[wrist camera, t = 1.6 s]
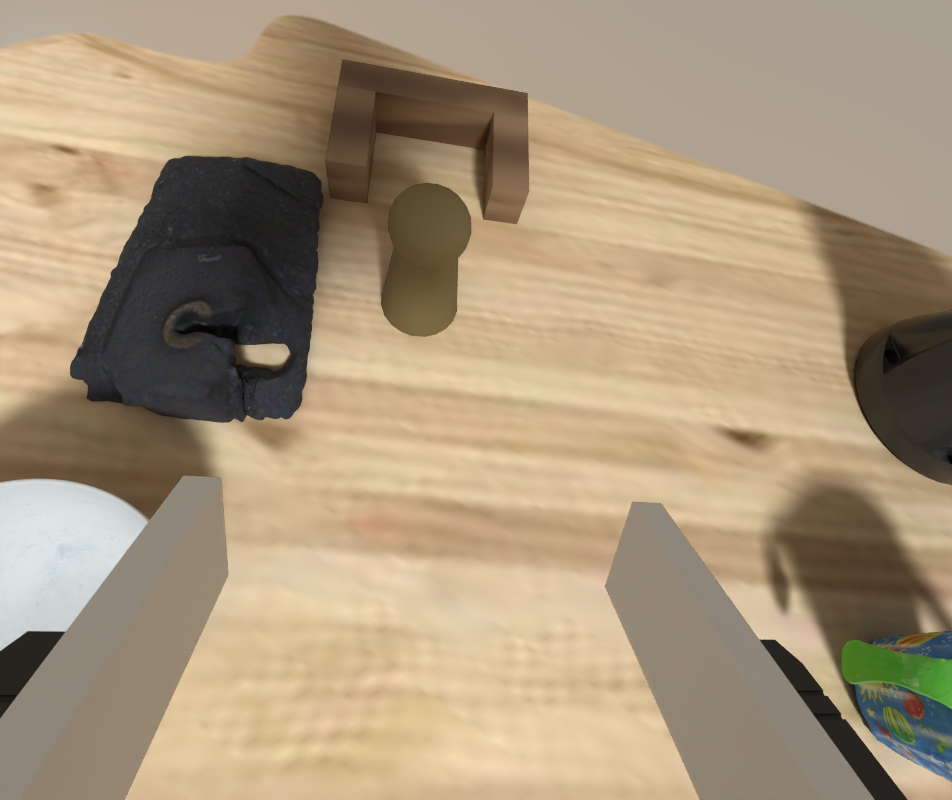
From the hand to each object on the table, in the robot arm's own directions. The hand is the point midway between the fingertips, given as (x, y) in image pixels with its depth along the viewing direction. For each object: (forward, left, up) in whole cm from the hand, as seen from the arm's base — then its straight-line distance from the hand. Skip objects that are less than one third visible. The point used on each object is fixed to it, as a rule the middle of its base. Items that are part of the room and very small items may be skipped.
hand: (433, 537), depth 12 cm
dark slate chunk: (+24, +7, -24) cm, 34 cm away
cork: (+19, -7, -23) cm, 31 cm away
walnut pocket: (+33, -12, -23) cm, 42 cm away
